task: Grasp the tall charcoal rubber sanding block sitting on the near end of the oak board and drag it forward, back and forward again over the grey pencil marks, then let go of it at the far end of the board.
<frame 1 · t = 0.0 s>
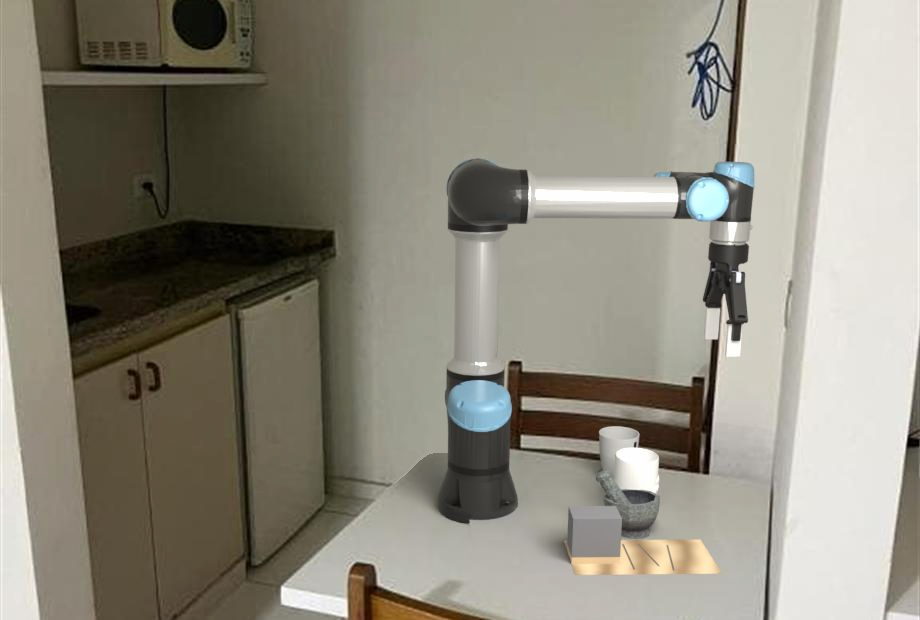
hand: (721, 347, 184), 28 cm above the table, fingers open, 13 cm apart
cup: (616, 479, 190), on the table
board: (639, 561, 155), on the table
sanding block: (592, 556, 154), point 1 cm above the table, touching board
mortar and pestle: (628, 535, 164), on the table
mug: (631, 511, 175), on the table
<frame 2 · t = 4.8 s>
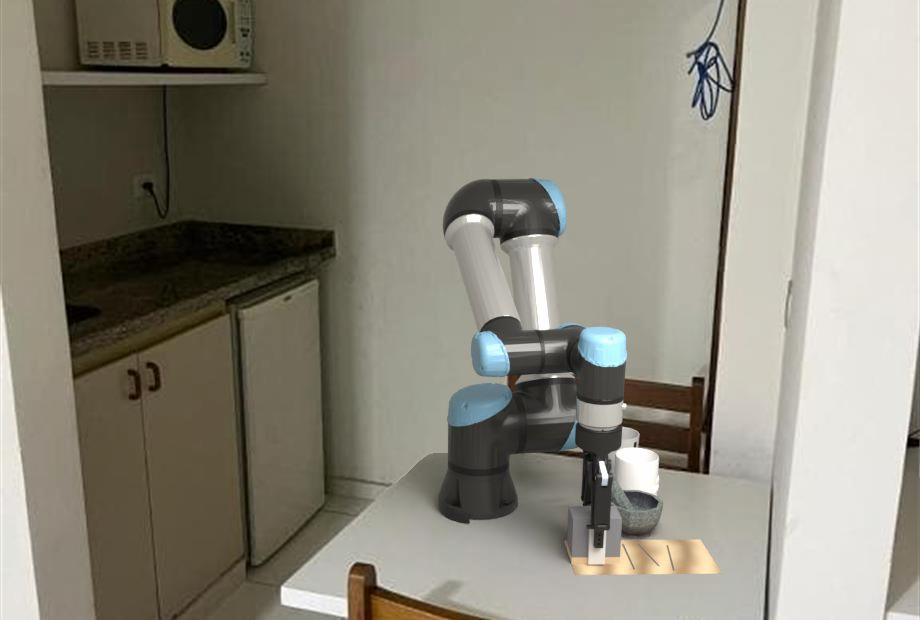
hand: (592, 554, 154), 1 cm above the table, fingers closed on sanding block, 5 cm apart
sanding block: (592, 556, 154), point 1 cm above the table, touching board, gripper
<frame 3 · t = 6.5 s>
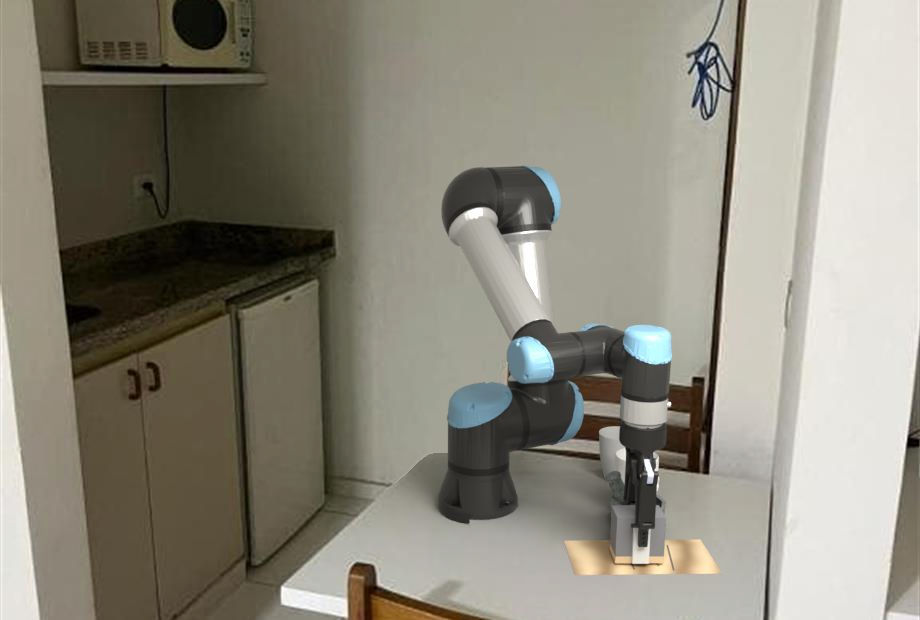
hand: (636, 554, 154), 2 cm above the table, fingers closed on sanding block, 5 cm apart
sanding block: (636, 556, 154), point 1 cm above the table, touching gripper
mortar and pestle: (630, 536, 164), on the table, touching gripper
everything else where it was.
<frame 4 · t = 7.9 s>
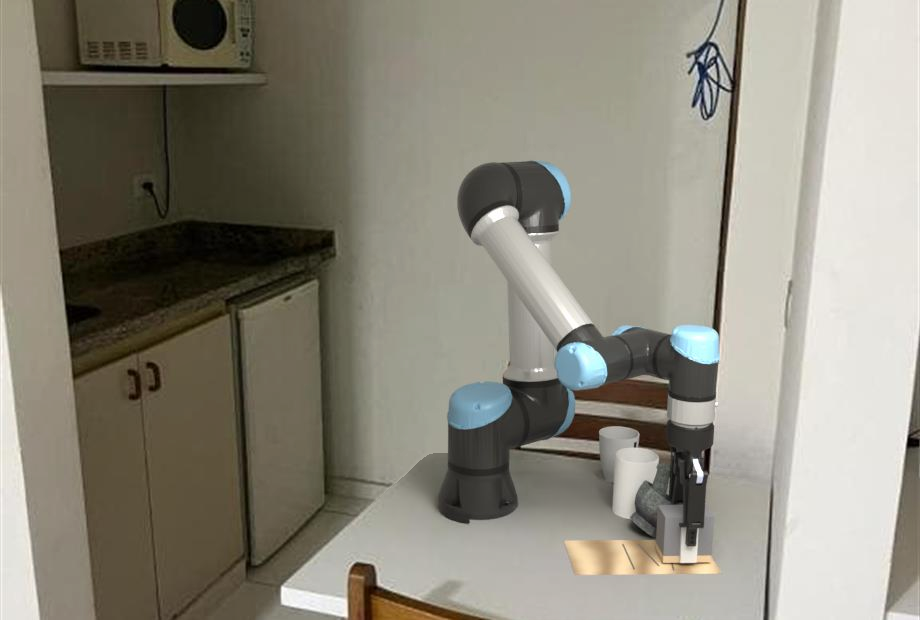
hand: (683, 553, 154), 2 cm above the table, fingers closed on sanding block, 5 cm apart
sanding block: (682, 555, 154), point 1 cm above the table, touching gripper
mortar and pestle: (641, 527, 163), point 2 cm above the table, touching gripper
everything else where it was.
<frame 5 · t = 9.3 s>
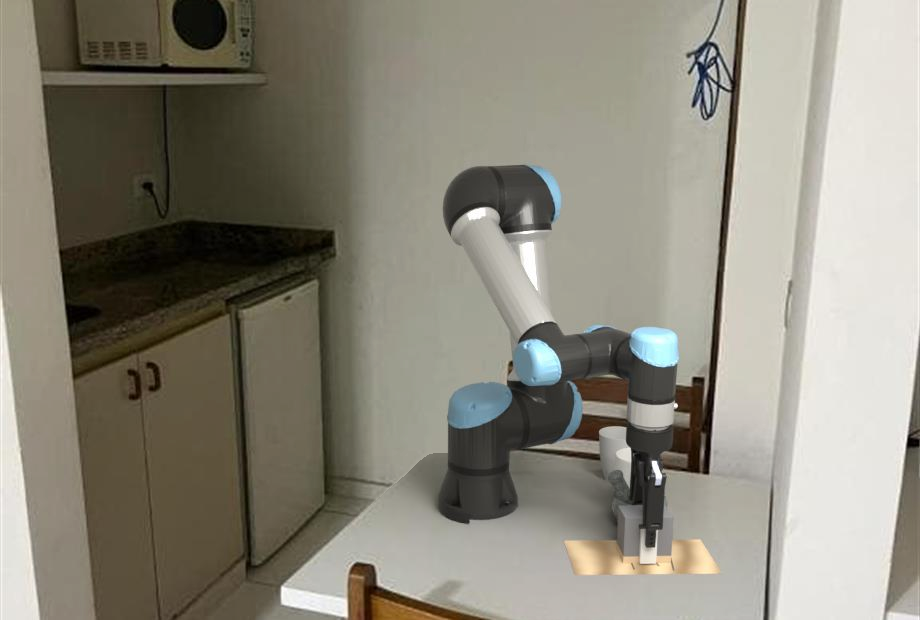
hand: (643, 554, 155), 1 cm above the table, fingers closed on sanding block, 5 cm apart
sanding block: (643, 555, 155), point 1 cm above the table, touching gripper
mortar and pestle: (632, 534, 165), on the table
everything else where it was.
when the fingers open (1 cm above the table, at t = 13.2 s): sanding block stays where it is, resting on board.
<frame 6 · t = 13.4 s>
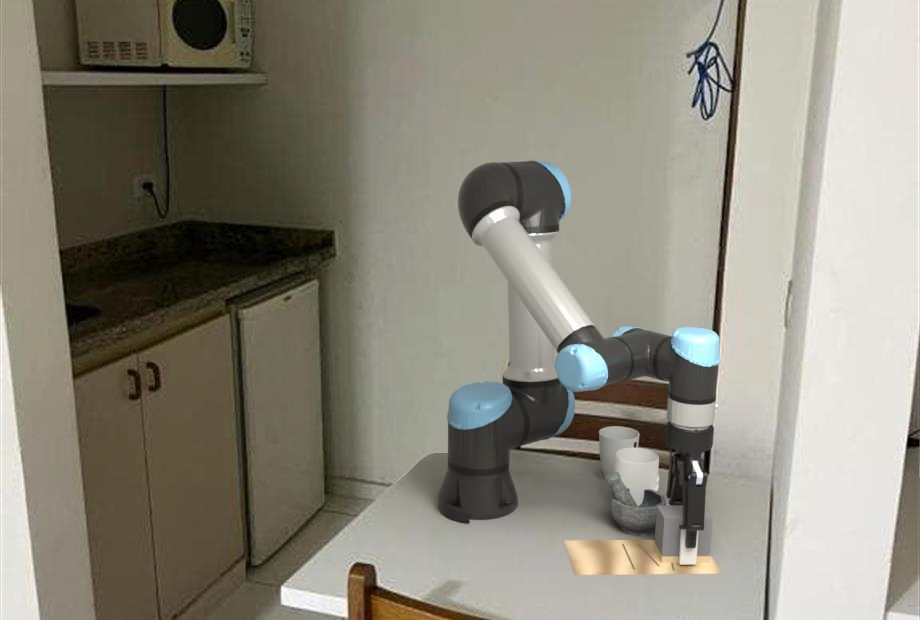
hand: (681, 553, 155), 2 cm above the table, fingers open, 6 cm apart
sanding block: (681, 555, 155), point 1 cm above the table, touching board
everything else where it was.
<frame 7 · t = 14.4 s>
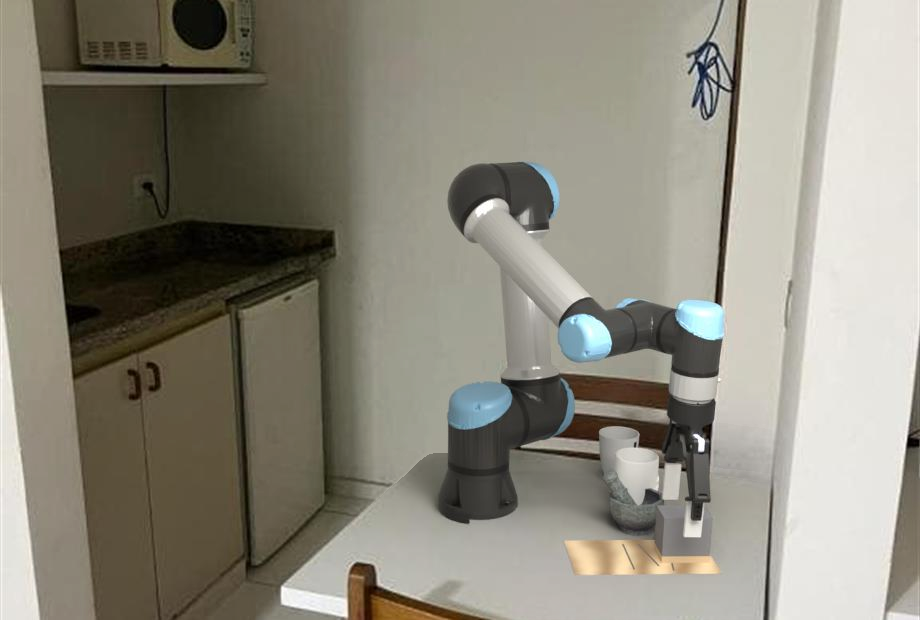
hand: (680, 516, 154), 8 cm above the table, fingers open, 13 cm apart
nothing on the table moved.
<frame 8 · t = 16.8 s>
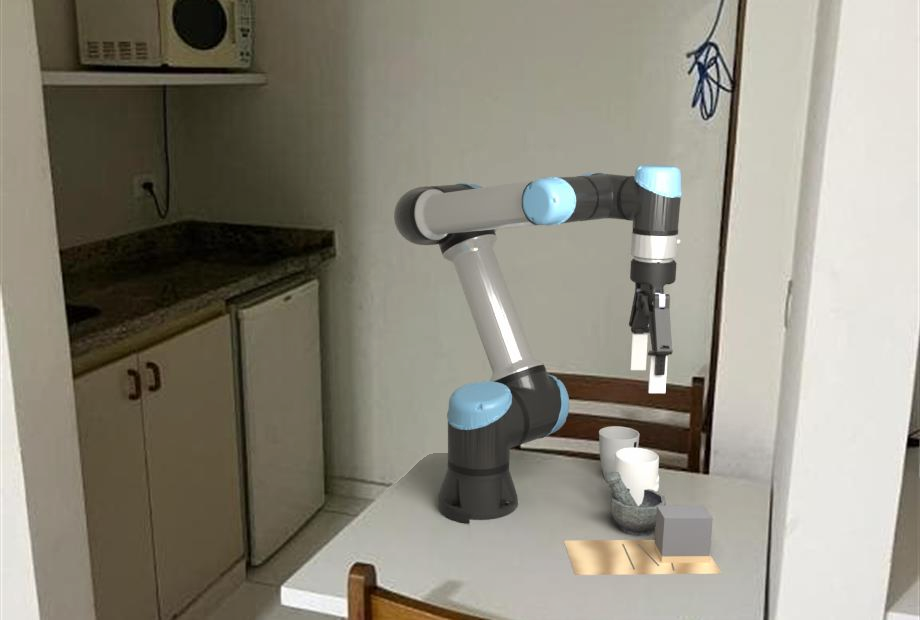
hand: (646, 380, 159), 29 cm above the table, fingers open, 13 cm apart
nothing on the table moved.
at the end: sanding block inside the target area on the board (0.0 cm from its centre), point 1.0 cm above the board's base; sanding block moved 15.0 cm from its start; the gripper is holding nothing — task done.
